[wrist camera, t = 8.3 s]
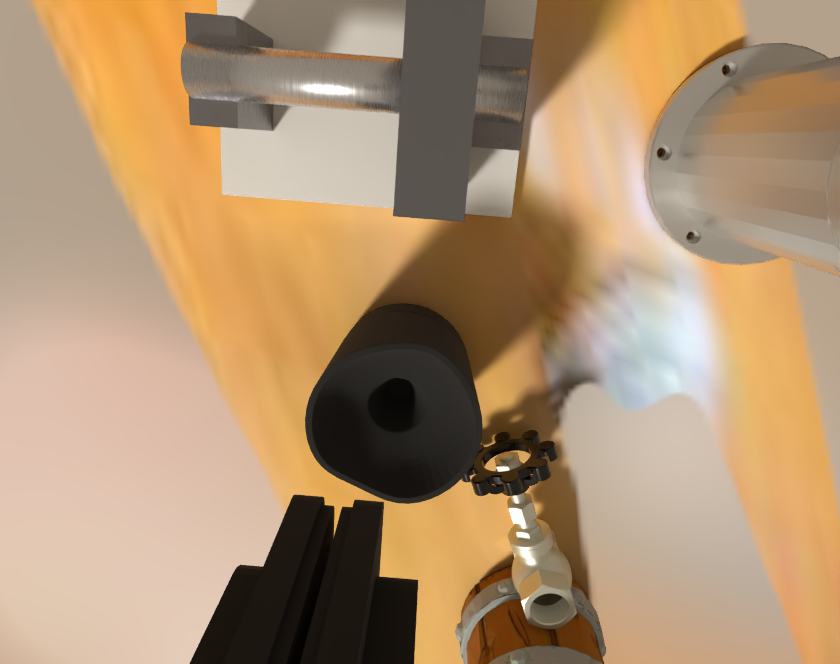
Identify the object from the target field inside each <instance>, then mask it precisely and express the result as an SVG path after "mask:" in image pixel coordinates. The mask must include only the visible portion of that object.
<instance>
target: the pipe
mask: <svg viewBox="0 0 840 664" xmlns="http://www.w3.org/2000/svg"><path fill="white" fill-rule="evenodd" d="M185 20H186V44H185V45H184V47H183V50H182V55H181V74H182V80H183V84H184V87H185V89H186V92H187V93H188V95H189V114H190V125H199V126H212V127H224V128H237V129H252V130H266V131H273V104H274V105H287V106H300V107H313V108H325V109H338V110H351V111H364V112H377V113H389V114H399V110H400V94H401V77H402V60H403V58H394V57H381V56H368V55H355V54H342V53H329V52H316V51H303V50H290V49H277V48H273V39H272V38H270V37H269V36H267V35H265V34H264V33H262V32H261V31H259V30H257V29H256V28H254V27H252V26H251V25H249V24H248V23H246V22H244V21H243V20H241V19H239V18H238V17H236V16H225V15H212V14H199V13H186V12H185ZM532 47H533V39H524V38H511V37H498V36H485V35H482V43H481V53H480V63H479V74H478V84H477V94H476V104H475V115H474V125H473V135H472V146H471V147H479V148H492V149H504V150H517V151H520V146H521V138H522V130H523V121H524V113H525V105H526V97H527V88H528V80H529V72H530V64H531V55H532Z"/></svg>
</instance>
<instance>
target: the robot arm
mask: <svg viewBox="0 0 840 664" xmlns="http://www.w3.org/2000/svg"><path fill="white" fill-rule="evenodd" d="M723 66H725V67H726V68H727V72H726V74H725V75H723V73H722V67H723ZM659 148H661V149H662V150H663V154H662V156H660V157H658V156H657V151H658V149H659ZM644 179H645V186H646V193H647V198H648V200H649V203H650V206H651V209H652V212H653V214H654V216H655V217H656V219H657V221H658V222H659V224H660V225H661V227H662V229H663V230H664V231H665V232H666V233H667V234H668V235H669V236H670V237H671V238H672V239H673V240H674V241H675V242H676V243H677V244H679V245H680V246H682V247H683V248H685V249H686V250H688V251H689V252H691V253H693V254H696V255H698V256H700V257H702V258H704V259H708V260H711V261H715V262H718V263H722V264H734V265H747V264H757V263H763V262H767V261H770V260H774V259H777V258H781V257H782V258H785V259H788V260H791V261H794V262H797V263H800V264H803V265H806V266H809V267H812V268H815V269H818V270H821V271H824V272H827V273H830V274H833V275H836V276H839V277H840V57H835V58H830V59H829V58H828V57H826V56H825V55H822V54H821V53H818V52H816V51H814V50H811V49H809V48H807V47H803V46H797V45H792V44H787V43H774V44H773V43H771V44H760V45H755V46H751V47H747V48H742V49H739V50H736V51H733V52H730V53H728V54H725V55H723V56H721V57H719V58H717V59H715V60H713V61H712V62H710V63H708V64H706V65H704V66H703V67H702V68H700V69H699V70H698V71H697V72H695V73H694V74H693V75H691V76H690V77H689V78H688V79H686V80H685V81H684V83H683V84H682V85H681V86H680V87H679V88H678V89H677V90H676V91H675V92H674V94H673V95H672V96H671V97H670V98H669V100H668V102H667V103H666V105H665V106H664V108H663V109H662V111H661V113H660V114H659V116H658V118H657V120H656V123H655V125H654V127H653V130H652V132H651V135H650V138H649V142H648V146H647V151H646V155H645V169H644ZM690 231H691V237H690V238H688V239H686V236H687V234H688V232H690ZM383 510H384V502H376V501H365V500H355V501H354V504H353V508H352V507H342V510H341V513H340V517H339V521H338V524H337V528H336V532H335V535H334V506H328V505H325V502H324V497H317V496H305V495H293V497H292V499H291V502H290V504H289V506H288V509H287V511H286V514H285V516H284V518H283V521H282V523H281V526H280V528H279V531H278V533H277V535H276V538H275V540H274V542H273V545H272V547H271V550H270V552H269V554H268V557H267V559H266V561H265V564H264V566H263V567H259V566H247V565H240V566H238V567H237V568H236V569H235V571H234V573H233V575H232V577H231V579H230V581H229V583H228V585H227V587H226V589H225V591H224V593H223V595H222V597H221V599H220V602H219V604H218V606H217V608H216V610H215V612H214V614H213V616H212V619H211V620H210V622H209V624H208V627H207V629H206V631H205V633H204V635H203V637H202V639H201V641H200V643H199V645H198V647H197V649H196V651H195V653H194V656H193V658H192V660H191V662H190V664H414V651H415V631H416V612H417V592H418V580H412V579H400V578H388V577H379V572H380V557H381V541H382V526H383ZM333 538H334V539H333Z"/></svg>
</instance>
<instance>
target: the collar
mask: <svg viewBox="0 0 840 664" xmlns="http://www.w3.org/2000/svg"><path fill="white" fill-rule="evenodd" d="M485 1H486V0H406V10H405V27H404V44H403V60H402V77H401V94H400V110H399V127H398V144H397V160H396V177H395V194H394V210H393V216H398V217H411V218H423V219H436V220H448V221H461V222H464V218H465V208H466V197H467V187H468V177H469V166H470V156H471V146H472V135H473V125H474V115H475V104H476V94H477V84H478V74H479V63H480V53H481V43H482V32H483V22H484V12H485Z"/></svg>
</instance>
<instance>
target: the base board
mask: <svg viewBox="0 0 840 664" xmlns="http://www.w3.org/2000/svg"><path fill="white" fill-rule="evenodd" d="M537 1H538V0H486V1H485V12H484V22H483V32H482V35H485V36H498V37H511V38H524V39H533V34H534V26H535V18H536V9H537ZM405 10H406V0H217V15H225V16H236V17H238V18H239V19H241V20H243V21H244V22H246V23H248V24H249V25H251V26H252V27H254V28H256V29H257V30H259V31H261V32H262V33H264V34H265V35H267V36H269V37H270V38H272V39H273V48H277V49H290V50H303V51H316V52H329V53H342V54H355V55H368V56H381V57H394V58H403V44H404V27H405ZM398 127H399V114H389V113H377V112H364V111H351V110H338V109H325V108H313V107H300V106H287V105H274V104H273V131H266V130H252V129H237V128H224V127H220V129H221V166H222V195H232V196H244V197H257V198H270V199H282V200H295V201H307V202H320V203H332V204H345V205H357V206H370V207H383V208H394V194H395V177H396V160H397V144H398ZM518 158H519V151H517V150H504V149H492V148H479V147H471V156H470V166H469V177H468V187H467V197H466V208H465V214H471V215H483V216H496V217H508V218H511V216H512V208H513V199H514V191H515V183H516V175H517V166H518Z"/></svg>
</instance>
